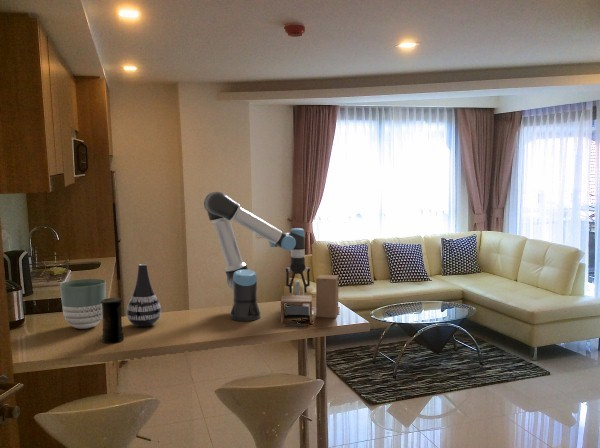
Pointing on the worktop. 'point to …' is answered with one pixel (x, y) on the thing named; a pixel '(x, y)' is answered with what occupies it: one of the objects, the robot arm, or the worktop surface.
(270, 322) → the worktop surface
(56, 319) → the worktop surface
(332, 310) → the wooden block
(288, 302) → the wooden side table
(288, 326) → the pit
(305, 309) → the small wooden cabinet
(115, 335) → the container
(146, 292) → the vase
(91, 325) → the planter
